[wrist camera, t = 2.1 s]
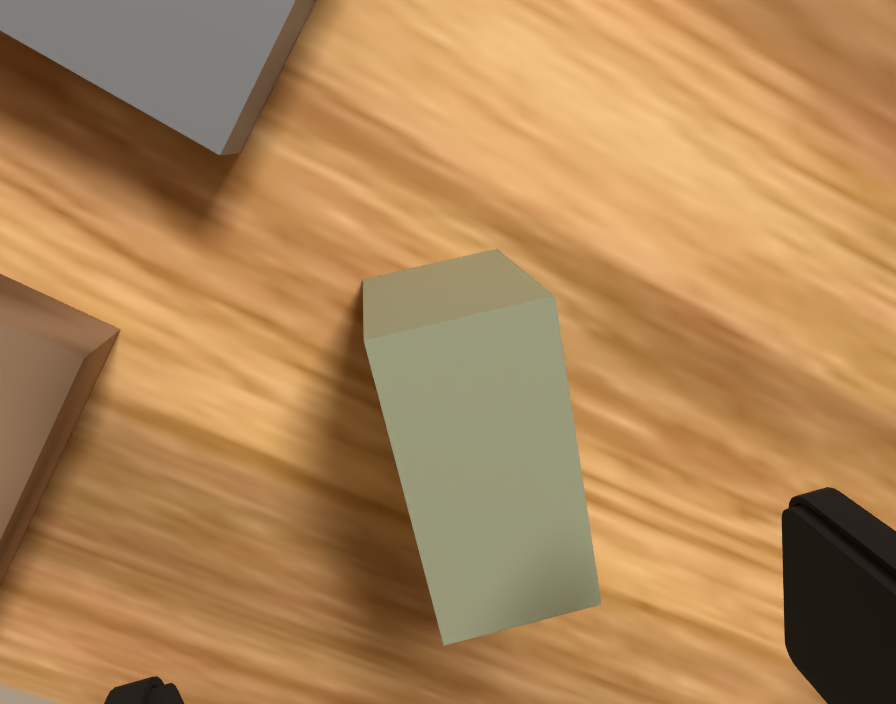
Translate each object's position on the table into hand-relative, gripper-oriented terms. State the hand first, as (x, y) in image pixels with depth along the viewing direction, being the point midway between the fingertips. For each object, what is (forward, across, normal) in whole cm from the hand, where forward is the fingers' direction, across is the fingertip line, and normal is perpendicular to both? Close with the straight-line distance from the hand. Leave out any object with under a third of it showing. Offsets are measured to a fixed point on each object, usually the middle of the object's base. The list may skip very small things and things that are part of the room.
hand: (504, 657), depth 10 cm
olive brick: (+11, -1, 0) cm, 11 cm away
